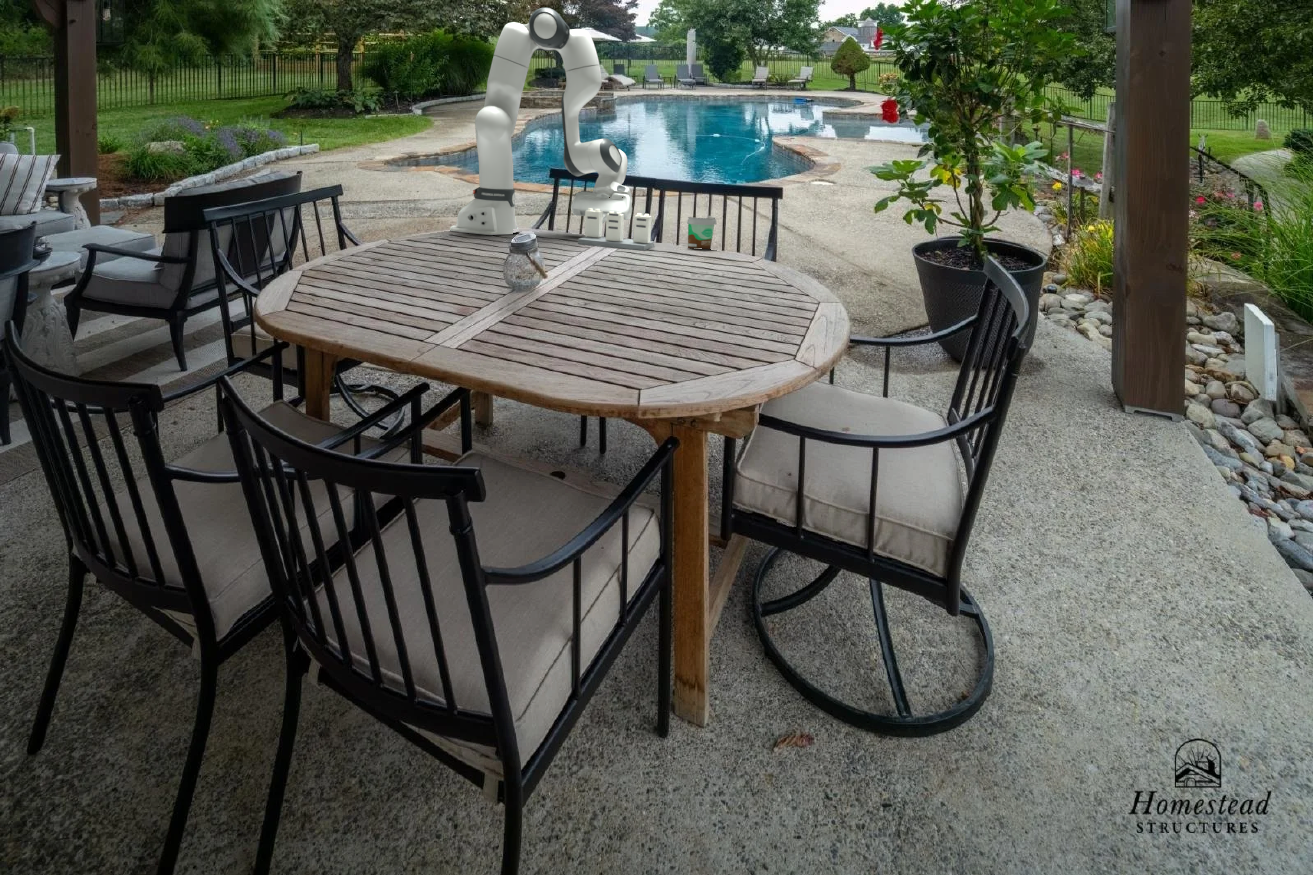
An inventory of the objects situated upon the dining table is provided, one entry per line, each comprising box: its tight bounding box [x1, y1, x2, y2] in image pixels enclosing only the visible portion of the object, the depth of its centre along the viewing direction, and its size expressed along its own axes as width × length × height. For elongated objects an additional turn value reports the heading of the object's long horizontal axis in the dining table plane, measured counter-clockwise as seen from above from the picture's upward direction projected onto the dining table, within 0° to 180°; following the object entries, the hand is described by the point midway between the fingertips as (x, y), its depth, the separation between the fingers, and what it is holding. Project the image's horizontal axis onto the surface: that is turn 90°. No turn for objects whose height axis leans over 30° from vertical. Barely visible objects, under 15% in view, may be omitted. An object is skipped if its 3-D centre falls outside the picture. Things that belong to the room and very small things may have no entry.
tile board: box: [577, 235, 655, 252], centre depth 242 cm, size 22×12×2 cm, turn 76°
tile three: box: [605, 211, 625, 241], centre depth 238 cm, size 5×3×9 cm
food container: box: [686, 215, 717, 250], centre depth 245 cm, size 12×6×10 cm, turn 143°
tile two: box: [632, 212, 653, 243], centre depth 238 cm, size 5×3×9 cm
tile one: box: [584, 208, 603, 238], centre depth 243 cm, size 5×3×9 cm
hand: (596, 225), depth 246 cm, fingers closed
